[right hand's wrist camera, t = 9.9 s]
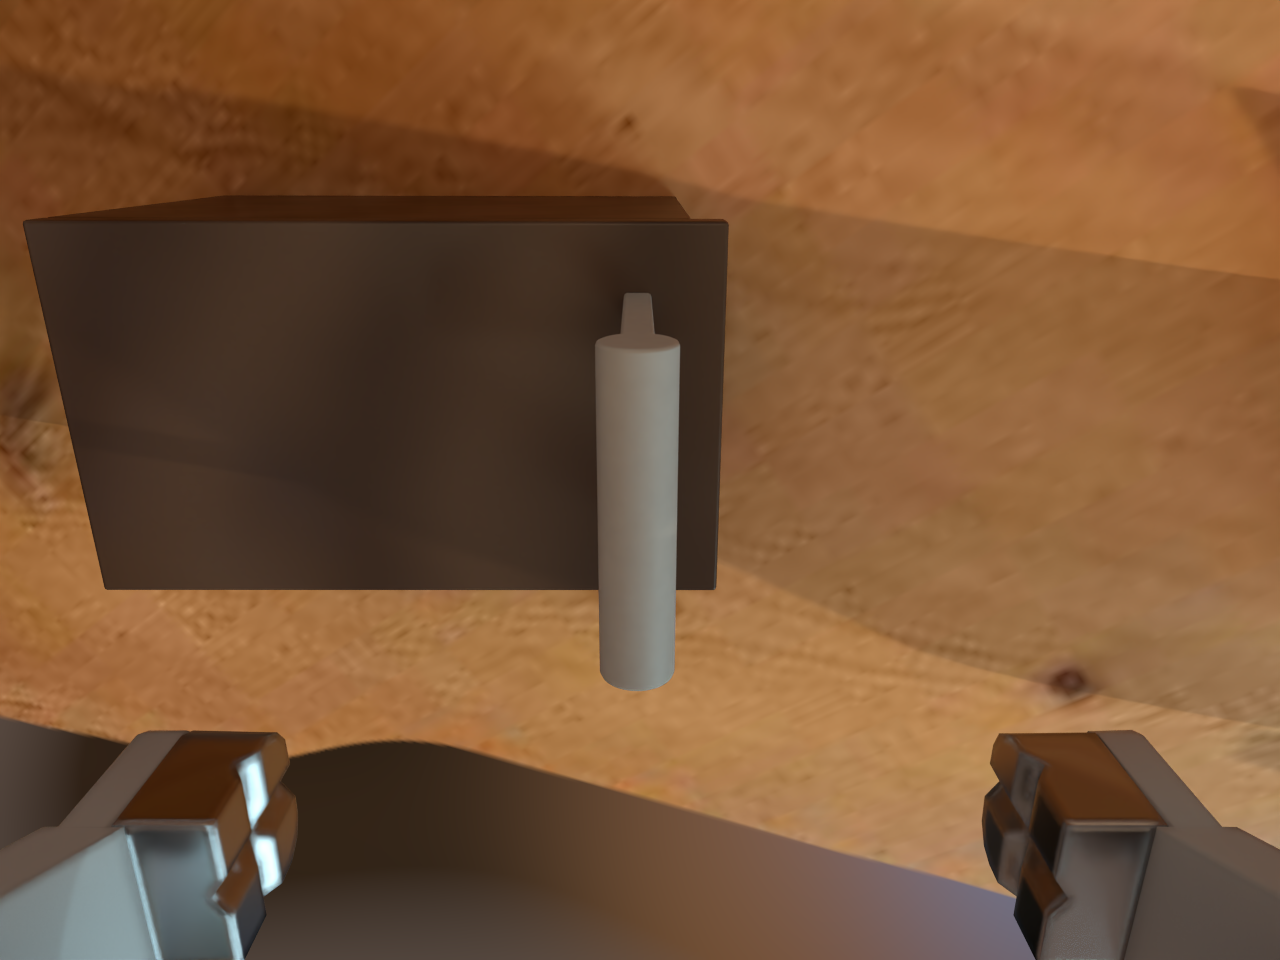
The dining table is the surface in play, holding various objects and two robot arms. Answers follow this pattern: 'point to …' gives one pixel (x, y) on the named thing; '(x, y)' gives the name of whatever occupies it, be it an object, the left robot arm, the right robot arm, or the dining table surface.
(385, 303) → the lid
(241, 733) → the right robot arm
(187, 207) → the chest
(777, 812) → the dining table surface
